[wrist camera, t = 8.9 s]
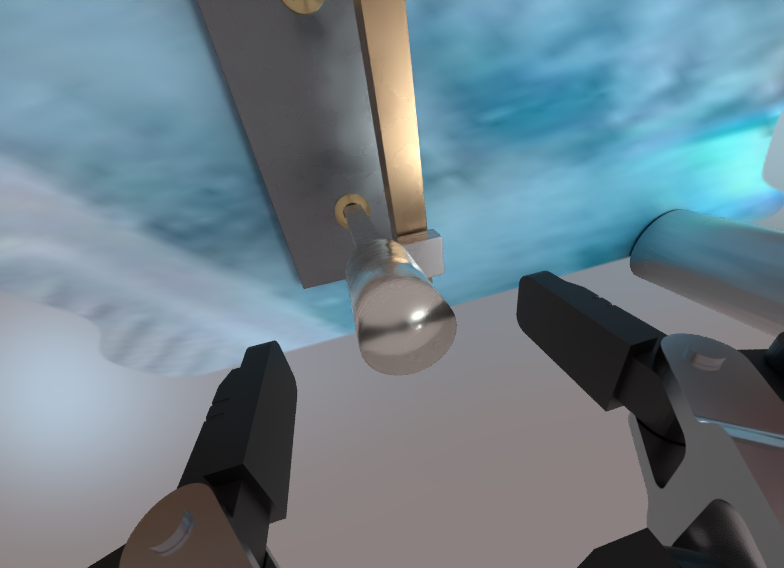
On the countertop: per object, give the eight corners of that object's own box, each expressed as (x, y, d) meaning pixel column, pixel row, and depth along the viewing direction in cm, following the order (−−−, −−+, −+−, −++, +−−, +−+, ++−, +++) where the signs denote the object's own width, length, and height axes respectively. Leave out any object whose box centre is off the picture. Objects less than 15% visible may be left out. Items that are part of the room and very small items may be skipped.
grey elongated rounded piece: (386, 185, 23) (503, 269, 8) (392, 222, 24) (499, 347, 10) (328, 197, 22) (348, 309, 8) (338, 234, 24) (370, 386, 9)
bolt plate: (385, -63, 18) (483, -351, 7) (421, 253, 28) (480, 320, 18) (186, -44, 16) (-57, -374, 6) (304, 281, 27) (295, 372, 17)
